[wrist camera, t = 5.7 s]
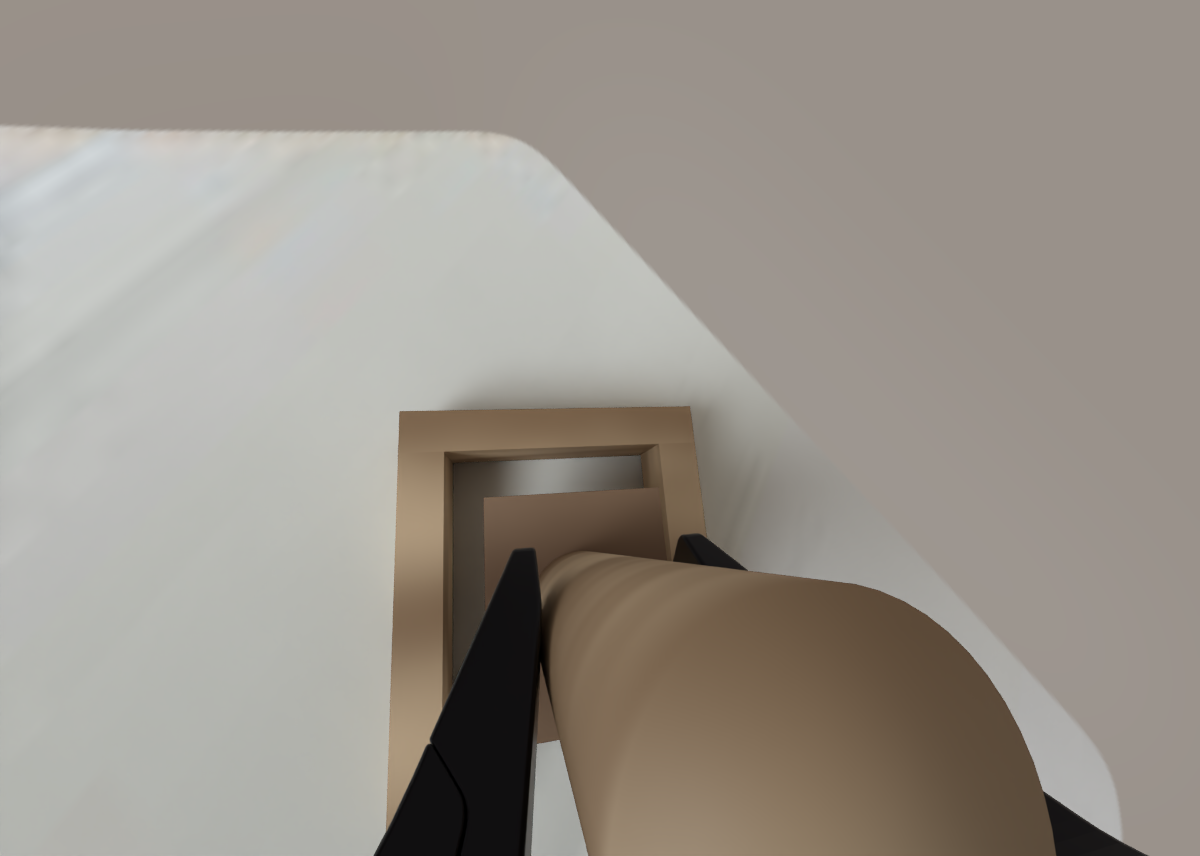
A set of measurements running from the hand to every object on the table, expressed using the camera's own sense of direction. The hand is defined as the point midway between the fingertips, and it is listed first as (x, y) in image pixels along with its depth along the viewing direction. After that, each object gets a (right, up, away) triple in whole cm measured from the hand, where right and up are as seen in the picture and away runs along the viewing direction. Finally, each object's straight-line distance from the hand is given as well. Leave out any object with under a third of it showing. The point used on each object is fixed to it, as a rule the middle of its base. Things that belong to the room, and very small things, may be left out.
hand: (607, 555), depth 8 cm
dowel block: (-1, -3, +6) cm, 7 cm away
